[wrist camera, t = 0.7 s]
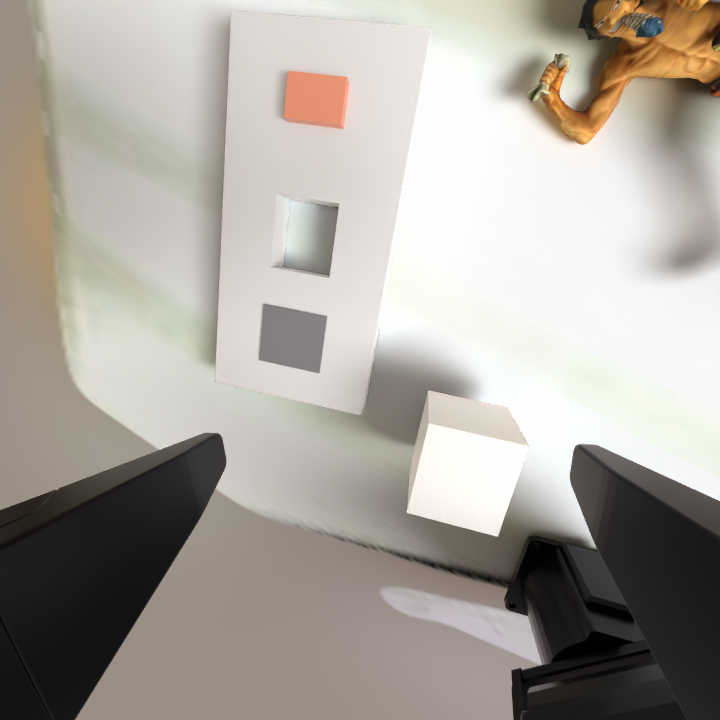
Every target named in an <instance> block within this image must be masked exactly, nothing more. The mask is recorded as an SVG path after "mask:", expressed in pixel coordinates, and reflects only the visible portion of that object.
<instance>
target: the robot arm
mask: <svg viewBox="0 0 720 720" xmlns="http://www.w3.org/2000/svg"><path fill="white" fill-rule="evenodd" d="M225 467H226V455H225V450H224V445H223V440H222V437H221V435H220V434H218V433H203V434H201V435H198V436H195V437H193V438H190V439H187V440H185V441H182V442H179V443H177V444H174V445H172V446H169V447H166V448H164V449H161V450H158V451H156V452H153V453H151V454H148V455H145V456H143V457H140V458H137V459H135V460H132V461H130V462H127V463H124V464H122V465H119V466H116V467H114V468H111V469H109V470H106V471H103V472H101V473H98V474H95V475H93V476H90V477H87V478H85V479H82V480H80V481H77V482H74V483H72V484H69V485H66V486H64V487H61V488H59V489H58V490H53V491H51V492H48V493H45V494H43V495H40V496H37V497H35V498H32V499H29V500H27V501H24V502H21V503H18V504H16V505H13V506H10V507H8V508H5V509H2V510H0V720H75V719H76V718H77V716H78V714H79V713H80V711H81V709H82V708H83V706H84V705H85V703H86V701H87V700H88V698H89V697H90V695H91V693H92V692H93V690H94V688H95V687H96V685H97V684H98V682H99V680H100V679H101V677H102V676H103V674H104V672H105V671H106V669H107V668H108V666H109V664H110V663H111V661H112V660H113V658H114V656H115V654H116V653H117V652H118V650H119V648H120V647H121V645H122V643H123V642H124V640H125V639H126V637H127V635H128V634H129V632H130V631H131V629H132V627H133V626H134V624H135V622H136V621H137V619H138V618H139V616H140V614H141V613H142V611H143V610H144V608H145V606H146V605H147V603H148V602H149V600H150V598H151V597H152V595H153V593H154V592H155V590H156V589H157V587H158V586H159V584H160V582H161V580H162V579H163V577H164V576H165V574H166V573H167V571H168V569H169V568H170V566H171V565H172V563H173V561H174V560H175V558H176V556H177V555H178V553H179V551H180V550H181V549H182V547H183V545H184V544H185V542H186V540H187V539H188V537H189V536H190V534H191V532H192V531H193V529H194V528H195V526H196V524H197V523H198V521H199V519H200V518H201V516H202V514H203V512H204V510H205V508H206V506H207V504H208V502H209V500H210V498H211V496H212V494H213V492H214V490H215V488H216V486H217V484H218V482H219V480H220V478H221V476H222V474H223V472H224V470H225ZM570 481H571V485H572V488H573V490H574V493H575V495H576V498H577V500H578V503H579V505H580V508H581V511H582V513H583V516H584V518H585V521H586V523H587V526H588V528H589V531H590V533H591V536H592V538H593V540H594V543H595V545H596V547H597V549H598V551H599V552H596V551H592V550H588V549H585V548H581V547H577V546H573V545H569V544H565V543H561V542H557V541H553V540H549V539H545V538H541V537H538V536H531V537H529V538H528V539H527V541H526V543H525V546H524V549H523V551H522V554H521V556H520V559H519V562H518V564H517V567H516V570H515V572H514V575H513V577H512V580H511V583H510V585H509V588H508V591H507V593H506V596H505V599H504V602H505V606H506V608H507V609H508V610H510V611H513V612H516V613H520V614H523V615H526V616H528V617H529V621H530V624H531V628H532V631H533V635H534V638H535V641H536V645H537V648H538V652H539V655H540V659H541V662H542V665H539V666H536V667H531V668H528V669H524V670H521V668H519V669H515V670H512V701H513V716H514V720H720V501H718V500H716V499H714V498H712V497H709V496H707V495H705V494H703V493H701V492H698V491H696V490H694V489H692V488H690V487H687V486H685V485H683V484H681V483H679V482H676V481H674V480H672V479H670V478H668V477H666V476H663V475H661V474H659V473H657V472H655V471H652V470H650V469H648V468H646V467H644V466H641V465H639V464H637V463H635V462H633V461H631V460H628V459H626V458H624V457H622V456H620V455H617V454H615V453H613V452H611V451H609V450H606V449H604V448H602V447H600V446H598V445H589V444H579V445H577V446H575V448H574V452H573V458H572V465H571V471H570ZM534 543H537V545H533V544H534ZM511 603H512V604H511Z"/></svg>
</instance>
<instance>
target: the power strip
mask: <svg viewBox="0 0 720 720" xmlns="http://www.w3.org/2000/svg"><path fill="white" fill-rule="evenodd" d="M430 53H431V27H419V26H407V25H396V24H384V23H372V22H361V21H349V20H337V19H326V18H314V17H302V16H291V15H279V14H267V13H256V12H244V11H232V10H231V25H230V48H229V71H228V94H227V117H226V140H225V163H224V186H223V209H222V232H221V255H220V278H219V301H218V324H217V347H216V370H215V382H219V383H223V384H227V385H231V386H236V387H240V388H244V389H249V390H253V391H257V392H262V393H266V394H270V395H274V396H279V397H283V398H287V399H292V400H296V401H300V402H305V403H309V404H313V405H317V406H322V407H326V408H330V409H335V410H339V411H343V412H348V413H352V414H356V415H360V416H361V414H362V411H363V409H364V407H365V404H366V400H367V395H368V389H369V384H370V379H371V373H372V368H373V362H374V357H375V351H376V346H377V341H378V335H379V330H380V324H381V319H382V313H383V308H384V303H385V297H386V292H387V286H388V281H389V275H390V270H391V265H392V259H393V254H394V248H395V243H396V237H397V232H398V227H399V221H400V216H401V210H402V205H403V199H404V194H405V189H406V183H407V178H408V172H409V167H410V161H411V156H412V151H413V145H414V140H415V134H416V129H417V123H418V118H419V113H420V107H421V102H422V96H423V91H424V85H425V80H426V75H427V69H428V64H429V58H430ZM290 200H294V201H300V202H307V203H313V204H320V205H326V206H332V207H339V210H338V217H337V225H336V232H335V240H334V247H333V254H332V262H331V269H330V275H325V274H319V273H314V272H308V271H303V270H297V269H292V268H286V267H284V258H285V248H286V237H287V227H288V217H289V206H290Z"/></svg>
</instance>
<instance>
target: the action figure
mask: <svg viewBox="0 0 720 720" xmlns="http://www.w3.org/2000/svg"><path fill="white" fill-rule="evenodd" d="M578 28H583V29H585V31H586V33H587V35H588V40H593V39H597V40H600V39H604V38H605V39H610V38H612V37H621V38H622V40H621V43H620V45H619V47H618V49H617V51H616V52H615V53H614V54H613V56H612V57H611V58H610V59H609V60H608V61H607V62H606V64H605V65H604V67H603V69H602V72H601V74H600V76H599V79H598V83H597V96H596V98H595V99H594V100H593V101H592V103H591V105H590V106H589V107H588V108H587V110H586V111H584V112H578V111H575V110H572V109H571V108H569V107H568V106H567V105H566V104H565V102H563V101H562V100H561V98H560V95H559V92H560V87H561V84H562V80H563V78H564V76H565V74H566V73H568V72H569V70H570V58H569V55H564V54H559V55H557V54H555V59H554V61H553V62H552V63H550V64H549V65H548V66H547V67H546V69H545V71H544V73H543V75H542V77H541V79H540V81H539V84H538V85H537V86H535V87H534V88H532V89H530V90H529V91H528V93H527V95H528V99H529V100H530V101H531V102H535V101H536V100H537V99H539V98H540V97H541V98H542V100H543V102H544V103H545V106H546V107H547V109H548V110H549V112H550V113H551V115H552V116H553V117H554V118H555V119H556V121H557V122H558V123H559V125H560V126H561V128H562V130H563V131H564V132H565V134H567V135H569V136H570V137H571V138H573V139H574V140H575V141H576V142H577V143H579V144H582V145H583V144H587V143H588V142H589V141H590V140H591V139H592V138H593V137H594V135H595V134H596V133H597V132H598V131H599V130H600V129H601V127H602V126H603V125H604V123H605V122H606V121H607V119H608V118H609V116H610V115H611V113H612V112H613V110H614V109H615V107H616V105H617V104H618V102H619V99H620V96H621V94H622V92H623V90H624V88H625V87H626V86H627V85H628V84H629V82H630V81H631V80H632V79H633V78H634V77H637V76H651V77H654V78H664V77H665V78H693V79H698V80H699V81H700V85H701V86H702V87H711V89H710V94H711V95H712V96H719V97H720V0H587V1H586V2H585V4H584V6H583V10H582V16H581V20H580V23H579V26H578Z"/></svg>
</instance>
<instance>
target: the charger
mask: <svg viewBox="0 0 720 720" xmlns="http://www.w3.org/2000/svg"><path fill="white" fill-rule="evenodd" d="M528 449H529V445H528V443H527V441H526V440H525V438H524V436H523V434H522V432H521V431H520V429H519V427H518V425H517V424H516V422H515V420H514V418H513V417H512V415H511V413H510V411H509V410H508V408H507V407H503V406H498V405H493V404H489V403H484V402H480V401H475V400H470V399H466V398H461V397H457V396H452V395H447V394H443V393H438V392H434V391H429V390H428V393H427V398H426V402H425V406H424V410H423V414H422V419H421V423H420V427H419V431H418V435H417V439H416V444H415V448H414V452H413V456H412V460H411V465H410V477H409V490H408V503H407V513H409V514H413V515H417V516H421V517H424V518H428V519H432V520H436V521H440V522H443V523H447V524H451V525H455V526H458V527H462V528H466V529H470V530H474V531H477V532H481V533H485V534H489V535H492V536H496V537H498V535H499V532H500V529H501V526H502V523H503V520H504V517H505V515H506V512H507V509H508V506H509V503H510V500H511V497H512V495H513V492H514V489H515V486H516V483H517V480H518V477H519V475H520V472H521V469H522V466H523V463H524V460H525V457H526V455H527V452H528Z"/></svg>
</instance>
